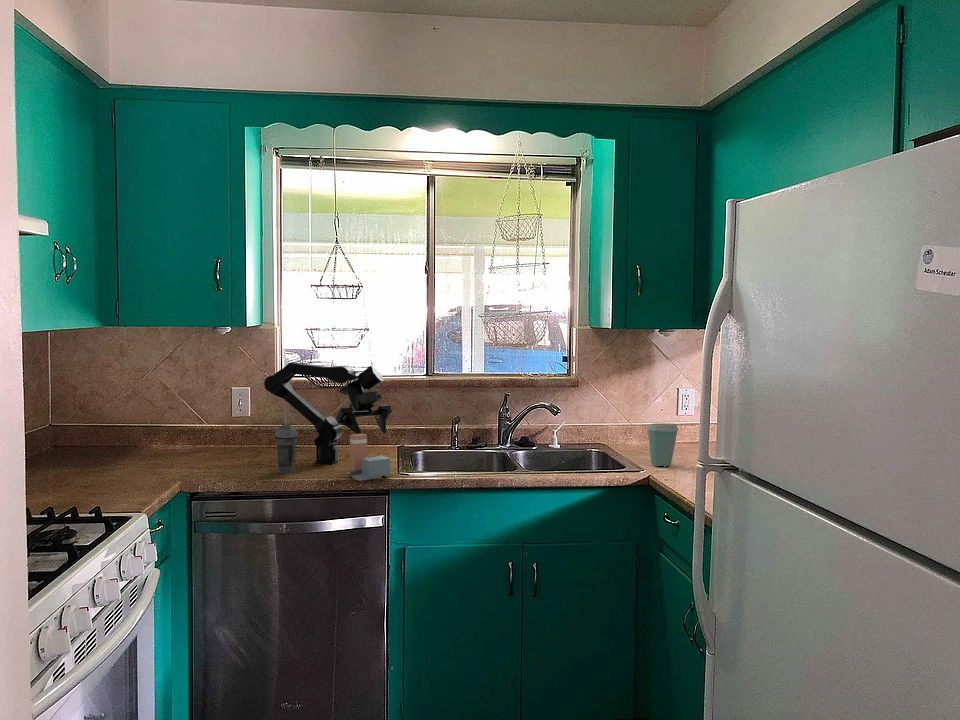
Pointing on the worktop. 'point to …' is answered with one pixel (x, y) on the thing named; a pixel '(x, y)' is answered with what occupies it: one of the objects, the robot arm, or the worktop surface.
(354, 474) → the dispenser
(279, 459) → the beverage cup
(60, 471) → the worktop surface
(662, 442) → the disposable coffee cup
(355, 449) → the pink bottle
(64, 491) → the worktop surface
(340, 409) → the robot arm
